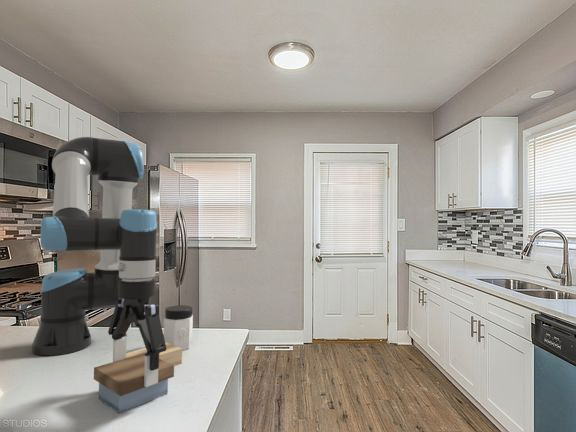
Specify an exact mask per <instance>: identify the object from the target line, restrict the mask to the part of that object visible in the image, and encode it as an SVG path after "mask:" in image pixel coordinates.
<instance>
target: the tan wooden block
mask: <svg viewBox="0 0 576 432" xmlns="http://www.w3.org/2000/svg"><path fill="white" fill-rule="evenodd" d="M165 344H166V351H163V352H160V353H159V359H161V360H163V361H165V362H168V363H170V364H172V365H174V367H176V366H178V365H181V364H183V350H182V348H179V347H177V346H174V345H172V344H169V343H166V342H165ZM151 348H152V347H151ZM143 353H147V350H146V347H143V348H140V349H135V350H133V351H132V350H131V351H128V352H126V358H129V357H132V356H136V355H139V354H143Z"/></svg>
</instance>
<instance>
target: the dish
mask: <svg viewBox="0 0 576 432" xmlns="http://www.w3.org/2000/svg"><path fill="white" fill-rule="evenodd" d="M168 385H169V379H166V380H163V381H161V382H158V383H156V384H153V385H151V386H148V387H145V388H142V389H139V390H136V391H134V392H131V393H128V394H126V395H123V396H119V395H118V394H116V393H115V392H113V391H112V390H110V389H108V388H107V387H105V386H104V385H102V384H101V383H99V382H98V400H99V401H100V402H102V403H103V404H104V405H106V406H108V407H109V408H110V409H111V410H113V411H115V412H116V413H118V414H121V413H123V412H125V411H128V410H131V409H133V408H136V407H138V406H140V405H143V404H145V403H148V402H150V401H153V400H155V399H158V398H161V397H163V396H165V395H167V394H168V389H169V387H168Z"/></svg>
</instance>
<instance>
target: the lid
mask: <svg viewBox="0 0 576 432" xmlns="http://www.w3.org/2000/svg"><path fill="white" fill-rule="evenodd" d="M145 354H146V353H143V354H139V355H136V356H132V357H129V358H126V359H122V360H119V361H115V362H113V361H112V362H109V363H105V364H102V365H99V366H95V367H93V380H94V381H96V382H97V383H98V384H99V383H101V384H102V385H104V386H105V387H107V388H108V389H110V390H112V391H113V392H115V393H116V394H118V395H119V396H123V395H126V394H128V393H131V392H134V391H136V390H139V389H142V388H145V386H144V371H145ZM173 377H175V366H174V365H172V364H170V363H168V362H165V361H163V360H161V359H159V368H158V382H161V381H163V380H166V379H168V380H169V379H171V378H173Z"/></svg>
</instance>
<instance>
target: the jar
mask: <svg viewBox="0 0 576 432" xmlns="http://www.w3.org/2000/svg"><path fill="white" fill-rule="evenodd" d="M193 320H194V314H193V306H191V305H184V304H183V305H179V304H178V305H171V306H170V305H169V306H168V307H166V308H165V310H164V318H163V335H164V340H165V342H166V343H169V344H172V345H174V346H177V347H179V348H182V351H187V350H190V349H191V346H192V345H193V327H194V324H193Z"/></svg>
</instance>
